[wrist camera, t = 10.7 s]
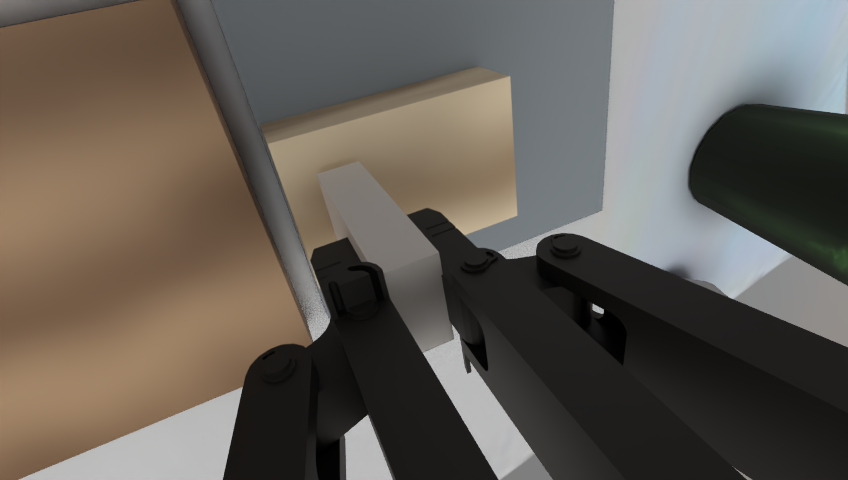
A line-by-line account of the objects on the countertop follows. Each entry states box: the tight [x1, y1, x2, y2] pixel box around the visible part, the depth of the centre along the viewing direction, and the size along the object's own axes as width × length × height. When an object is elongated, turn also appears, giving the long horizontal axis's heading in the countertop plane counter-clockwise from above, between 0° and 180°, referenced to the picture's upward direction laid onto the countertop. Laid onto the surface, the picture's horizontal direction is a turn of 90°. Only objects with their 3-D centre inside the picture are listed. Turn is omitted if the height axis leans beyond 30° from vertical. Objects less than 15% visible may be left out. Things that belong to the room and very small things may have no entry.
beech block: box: [260, 66, 517, 289], centre depth 18 cm, size 6×9×2 cm, turn 100°
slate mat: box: [211, 0, 614, 318], centre depth 20 cm, size 14×16×1 cm
